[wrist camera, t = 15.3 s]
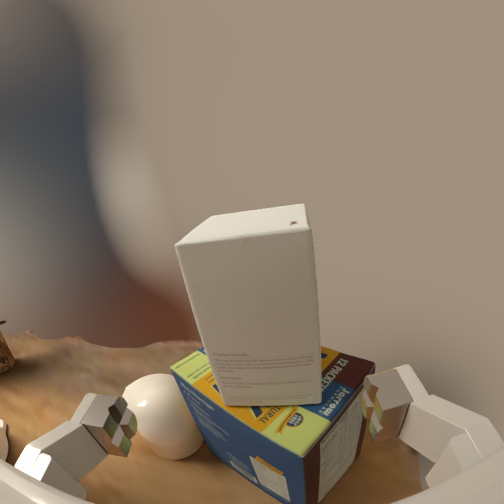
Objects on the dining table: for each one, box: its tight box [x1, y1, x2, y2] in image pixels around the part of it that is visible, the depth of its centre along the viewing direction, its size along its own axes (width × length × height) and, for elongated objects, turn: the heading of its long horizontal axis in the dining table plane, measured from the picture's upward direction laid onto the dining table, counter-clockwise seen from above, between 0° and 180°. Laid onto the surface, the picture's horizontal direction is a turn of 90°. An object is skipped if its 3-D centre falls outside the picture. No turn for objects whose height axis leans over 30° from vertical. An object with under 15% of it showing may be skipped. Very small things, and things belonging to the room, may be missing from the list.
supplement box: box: [174, 204, 322, 406], centre depth 19 cm, size 7×7×13 cm
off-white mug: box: [122, 374, 204, 460], centre depth 30 cm, size 10×8×9 cm
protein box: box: [170, 346, 375, 504], centre depth 24 cm, size 10×15×16 cm
